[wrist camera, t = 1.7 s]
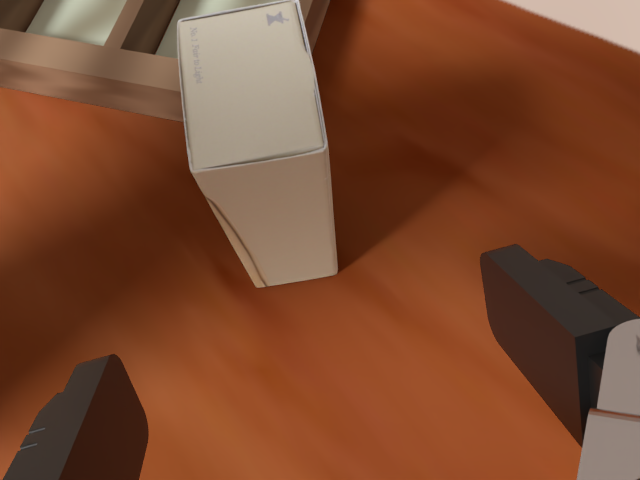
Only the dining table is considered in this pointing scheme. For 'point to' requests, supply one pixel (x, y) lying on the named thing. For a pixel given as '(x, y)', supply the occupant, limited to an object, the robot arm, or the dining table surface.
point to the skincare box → (260, 138)
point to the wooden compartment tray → (109, 49)
